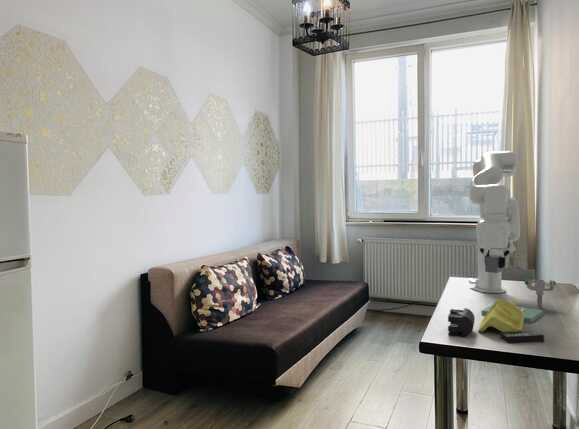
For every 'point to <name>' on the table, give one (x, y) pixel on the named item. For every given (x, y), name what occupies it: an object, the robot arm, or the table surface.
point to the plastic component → (503, 317)
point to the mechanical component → (539, 288)
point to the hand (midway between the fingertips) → (494, 266)
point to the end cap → (460, 322)
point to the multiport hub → (522, 337)
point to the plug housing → (493, 264)
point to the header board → (528, 313)
